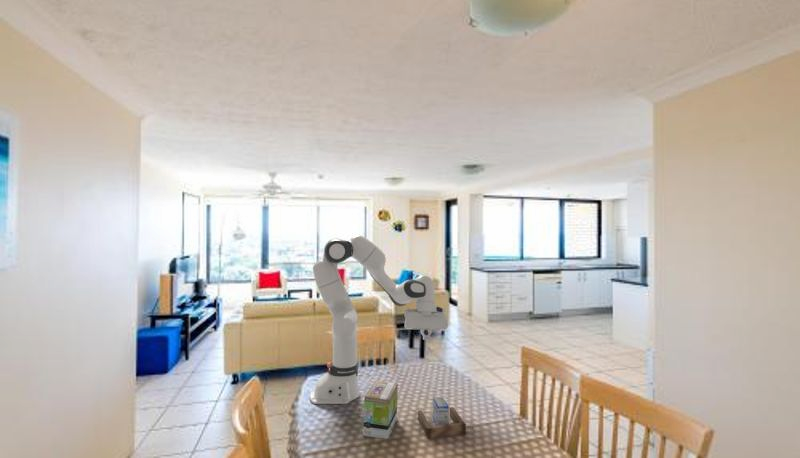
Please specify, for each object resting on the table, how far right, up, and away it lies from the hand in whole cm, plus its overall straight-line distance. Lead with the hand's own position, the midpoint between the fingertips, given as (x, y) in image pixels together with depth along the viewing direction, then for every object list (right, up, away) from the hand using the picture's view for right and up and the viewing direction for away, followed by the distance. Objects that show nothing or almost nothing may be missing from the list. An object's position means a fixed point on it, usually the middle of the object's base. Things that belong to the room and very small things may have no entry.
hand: (426, 339), depth 168 cm
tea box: (-19, -26, -27) cm, 42 cm away
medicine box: (+4, -26, -24) cm, 35 cm away
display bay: (+4, -26, -25) cm, 36 cm away
